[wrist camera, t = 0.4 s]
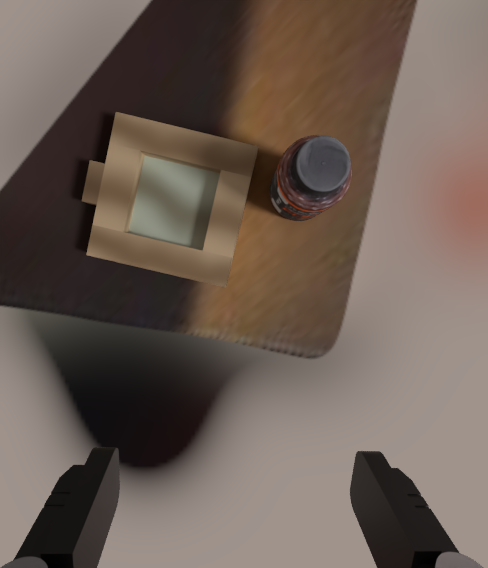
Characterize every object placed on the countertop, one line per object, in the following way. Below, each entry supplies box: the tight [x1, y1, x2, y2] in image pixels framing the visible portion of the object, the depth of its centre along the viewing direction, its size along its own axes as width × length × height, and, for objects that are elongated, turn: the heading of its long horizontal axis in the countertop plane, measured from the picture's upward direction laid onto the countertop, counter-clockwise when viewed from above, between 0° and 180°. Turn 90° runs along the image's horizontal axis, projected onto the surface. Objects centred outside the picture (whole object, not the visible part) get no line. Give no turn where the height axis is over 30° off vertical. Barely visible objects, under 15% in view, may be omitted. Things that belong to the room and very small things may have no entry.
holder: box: [82, 112, 258, 287], centre depth 36 cm, size 14×16×2 cm
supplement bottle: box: [270, 135, 352, 221], centre depth 31 cm, size 6×6×11 cm
